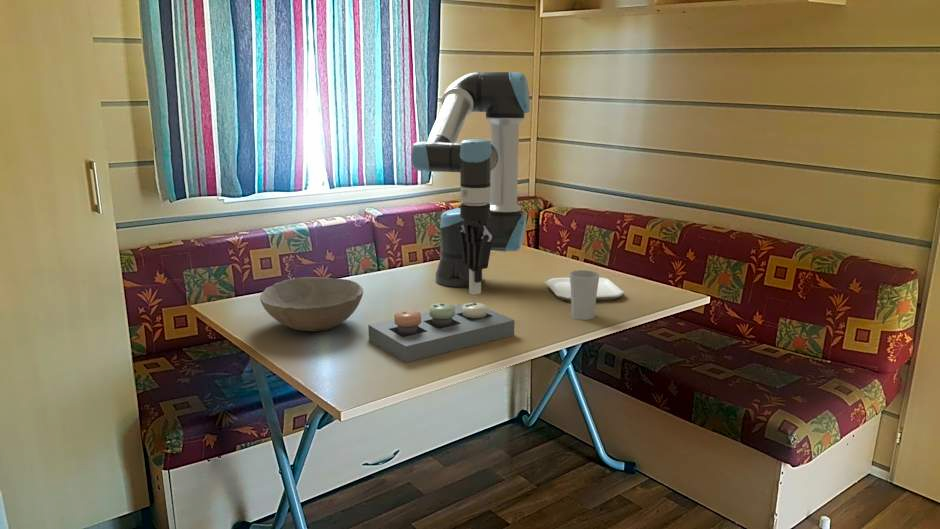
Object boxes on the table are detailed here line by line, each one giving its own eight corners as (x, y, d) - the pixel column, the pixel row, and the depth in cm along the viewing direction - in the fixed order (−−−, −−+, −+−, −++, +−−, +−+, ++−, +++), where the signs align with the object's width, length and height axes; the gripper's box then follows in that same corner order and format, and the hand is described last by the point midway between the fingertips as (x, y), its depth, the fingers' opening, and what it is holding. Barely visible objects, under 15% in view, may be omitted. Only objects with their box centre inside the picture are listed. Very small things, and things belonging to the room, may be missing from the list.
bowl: (316, 352, 173) (314, 312, 171) (240, 331, 187) (237, 294, 184) (385, 321, 195) (384, 285, 192) (312, 305, 208) (310, 271, 206)
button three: (457, 323, 189) (457, 305, 188) (477, 318, 193) (477, 300, 192) (471, 330, 184) (471, 311, 183) (491, 325, 188) (492, 306, 187)
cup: (596, 321, 196) (599, 278, 193) (566, 319, 197) (568, 276, 194) (597, 312, 203) (600, 271, 200) (569, 310, 205) (570, 269, 202)
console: (368, 339, 181) (368, 324, 180) (472, 316, 199) (472, 302, 198) (405, 362, 167) (405, 346, 166) (514, 334, 185) (514, 320, 184)
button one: (389, 332, 178) (389, 312, 176) (412, 327, 181) (412, 307, 180) (403, 339, 172) (402, 319, 171) (426, 334, 176) (425, 314, 175)
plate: (559, 305, 210) (560, 297, 210) (542, 285, 230) (542, 278, 230) (628, 302, 214) (628, 295, 213) (604, 282, 233) (605, 276, 233)
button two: (424, 324, 183) (424, 305, 182) (445, 319, 187) (445, 300, 186) (438, 331, 178) (438, 312, 177) (460, 326, 182) (460, 307, 180)
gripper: (448, 200, 183) (448, 289, 190) (478, 208, 173) (478, 302, 180) (472, 197, 188) (472, 284, 194) (503, 205, 177) (502, 297, 184)
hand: (475, 293), depth 187 cm, fingers closed
